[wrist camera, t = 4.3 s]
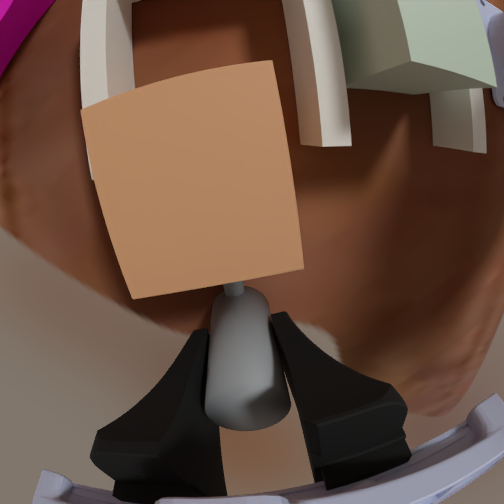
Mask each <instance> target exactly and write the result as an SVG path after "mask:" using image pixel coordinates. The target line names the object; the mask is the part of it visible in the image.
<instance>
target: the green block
mask: <svg viewBox="0 0 504 504" xmlns="http://www.w3.org/2000/svg"><path fill="white" fill-rule="evenodd" d="M331 1H332V6H333V10H334V15H335V20H336V25H337V30H338V35H339V41H340V47H341V53H342V59H343V66H344V73H345V81H346V88H356V89H369V90H380V91H389V92H397V93H405V94H412V95H417V94H424V93H432V92H440V91H450V90H461V89H476V88H497V83H496V77H495V71H494V66H493V61H492V56H491V51H490V47H489V43H488V39H487V35H486V32H485V28H484V25H483V21H482V18H481V15H480V12H479V9H478V6H477V3H476V1H475V0H331Z"/></svg>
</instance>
